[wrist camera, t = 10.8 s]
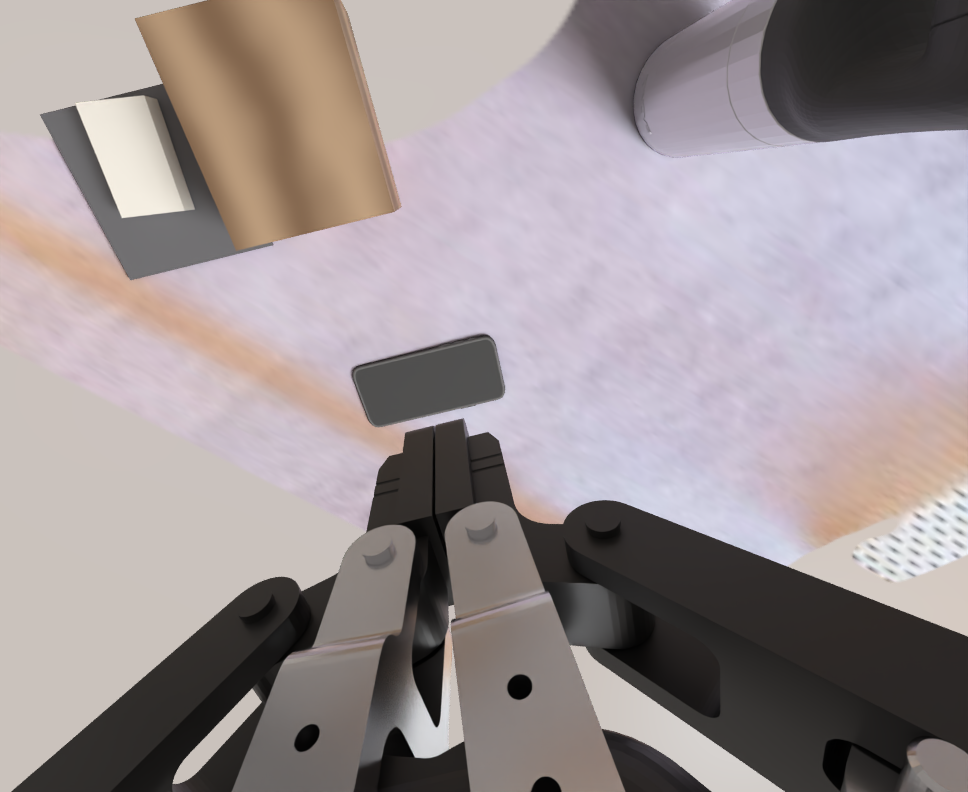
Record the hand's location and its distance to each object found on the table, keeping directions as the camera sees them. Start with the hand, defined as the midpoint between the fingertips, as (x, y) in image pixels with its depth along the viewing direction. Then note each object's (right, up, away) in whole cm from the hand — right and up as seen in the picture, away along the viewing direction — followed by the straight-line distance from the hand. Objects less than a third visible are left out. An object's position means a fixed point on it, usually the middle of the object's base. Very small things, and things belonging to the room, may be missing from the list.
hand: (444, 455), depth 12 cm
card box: (-26, +20, +24) cm, 41 cm away
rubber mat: (-26, +19, +27) cm, 42 cm away
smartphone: (-5, +3, +37) cm, 38 cm away
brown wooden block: (-14, +23, +27) cm, 38 cm away
